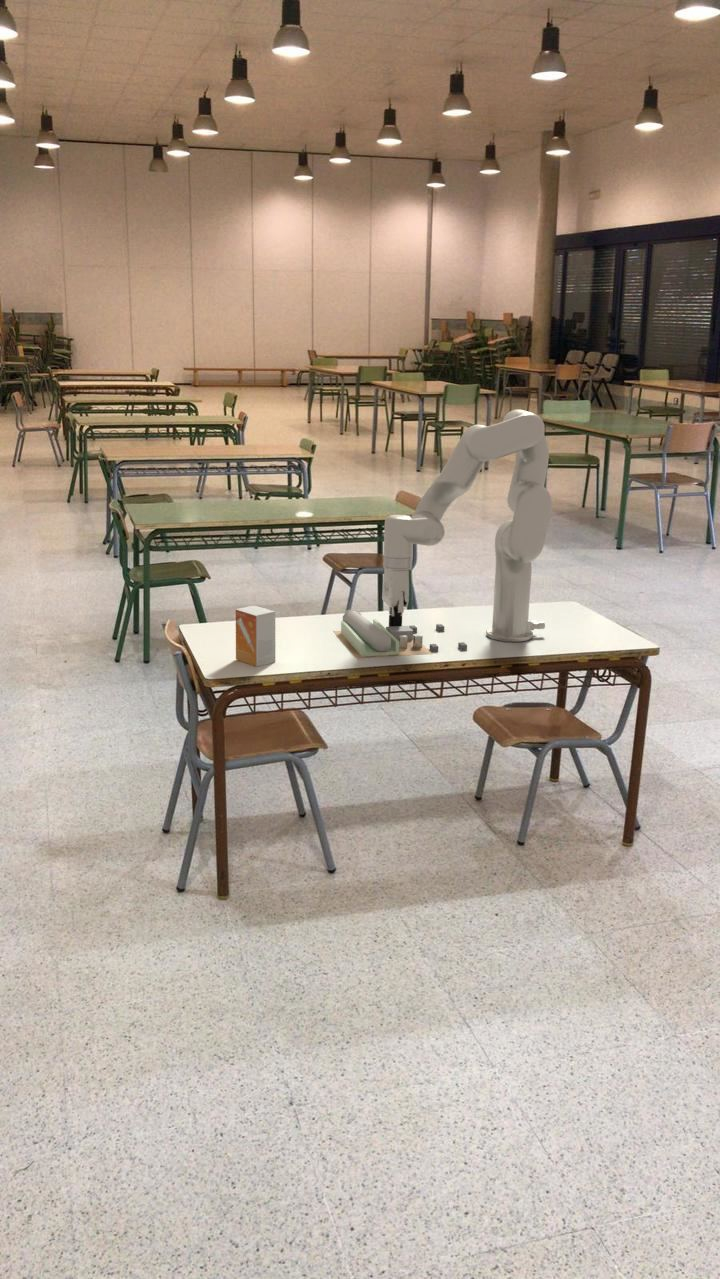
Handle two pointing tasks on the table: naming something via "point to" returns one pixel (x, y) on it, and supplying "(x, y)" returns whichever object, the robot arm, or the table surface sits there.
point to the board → (402, 652)
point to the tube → (367, 631)
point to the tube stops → (433, 646)
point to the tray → (363, 646)
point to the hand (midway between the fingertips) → (395, 629)
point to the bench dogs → (416, 641)
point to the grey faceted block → (401, 631)
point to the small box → (255, 635)
